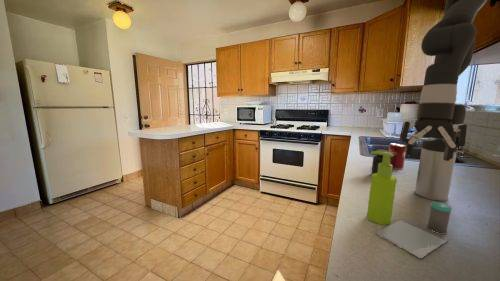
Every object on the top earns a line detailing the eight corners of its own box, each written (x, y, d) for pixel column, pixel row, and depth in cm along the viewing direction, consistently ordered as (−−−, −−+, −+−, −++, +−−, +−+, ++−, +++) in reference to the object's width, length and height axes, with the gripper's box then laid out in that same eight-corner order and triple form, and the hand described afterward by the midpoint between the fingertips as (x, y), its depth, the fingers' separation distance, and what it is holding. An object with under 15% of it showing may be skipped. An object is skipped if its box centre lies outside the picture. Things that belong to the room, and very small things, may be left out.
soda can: (389, 168, 107) (392, 145, 105) (384, 164, 114) (387, 142, 112) (405, 169, 105) (409, 146, 103) (400, 165, 112) (403, 143, 110)
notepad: (402, 221, 60) (403, 219, 60) (447, 241, 52) (448, 239, 51) (375, 234, 54) (375, 231, 54) (420, 259, 46) (421, 257, 45)
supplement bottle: (391, 177, 95) (395, 151, 93) (381, 179, 92) (384, 152, 90) (377, 172, 101) (380, 148, 99) (367, 174, 99) (370, 149, 96)
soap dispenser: (365, 210, 66) (372, 148, 62) (391, 218, 62) (401, 152, 58) (361, 218, 61) (368, 152, 58) (389, 227, 57) (399, 156, 53)
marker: (431, 224, 59) (435, 201, 57) (449, 231, 55) (454, 207, 54) (424, 228, 57) (428, 204, 56) (442, 236, 54) (447, 211, 52)
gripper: (463, 103, 59) (453, 159, 62) (403, 102, 65) (395, 153, 67) (478, 102, 53) (466, 164, 55) (409, 100, 58) (400, 157, 61)
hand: (427, 158), depth 61 cm, fingers open, 8 cm apart
